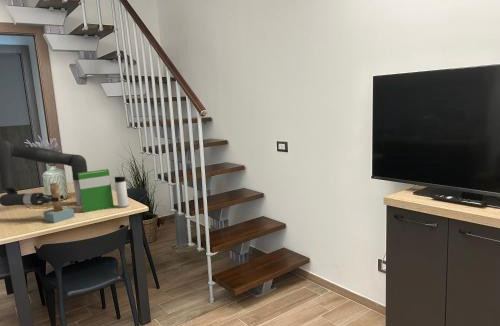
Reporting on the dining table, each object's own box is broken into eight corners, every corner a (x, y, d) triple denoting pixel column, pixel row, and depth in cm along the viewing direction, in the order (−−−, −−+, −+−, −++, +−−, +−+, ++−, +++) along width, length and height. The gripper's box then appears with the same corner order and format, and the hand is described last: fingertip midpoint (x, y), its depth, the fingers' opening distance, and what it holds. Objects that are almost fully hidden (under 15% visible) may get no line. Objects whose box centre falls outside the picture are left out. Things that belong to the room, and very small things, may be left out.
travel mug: (115, 208, 236) (111, 177, 232) (122, 204, 242) (118, 174, 238) (123, 208, 234) (119, 177, 230) (130, 205, 240) (126, 175, 236)
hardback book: (84, 212, 230) (78, 175, 226) (83, 209, 237) (77, 173, 232) (113, 207, 238) (108, 170, 233) (112, 204, 244) (107, 168, 240)
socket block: (64, 214, 230) (63, 206, 229) (74, 216, 223) (73, 208, 222) (44, 219, 221) (43, 211, 220) (54, 223, 213) (52, 214, 213)
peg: (61, 214, 225) (55, 182, 221) (64, 215, 222) (59, 183, 218) (53, 216, 221) (48, 184, 217) (57, 217, 218) (51, 184, 215)
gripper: (24, 196, 214) (51, 195, 212) (41, 189, 228) (67, 189, 225) (26, 208, 215) (54, 208, 213) (43, 201, 229) (68, 200, 227)
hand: (60, 198), depth 219 cm, fingers closed on peg, 4 cm apart
